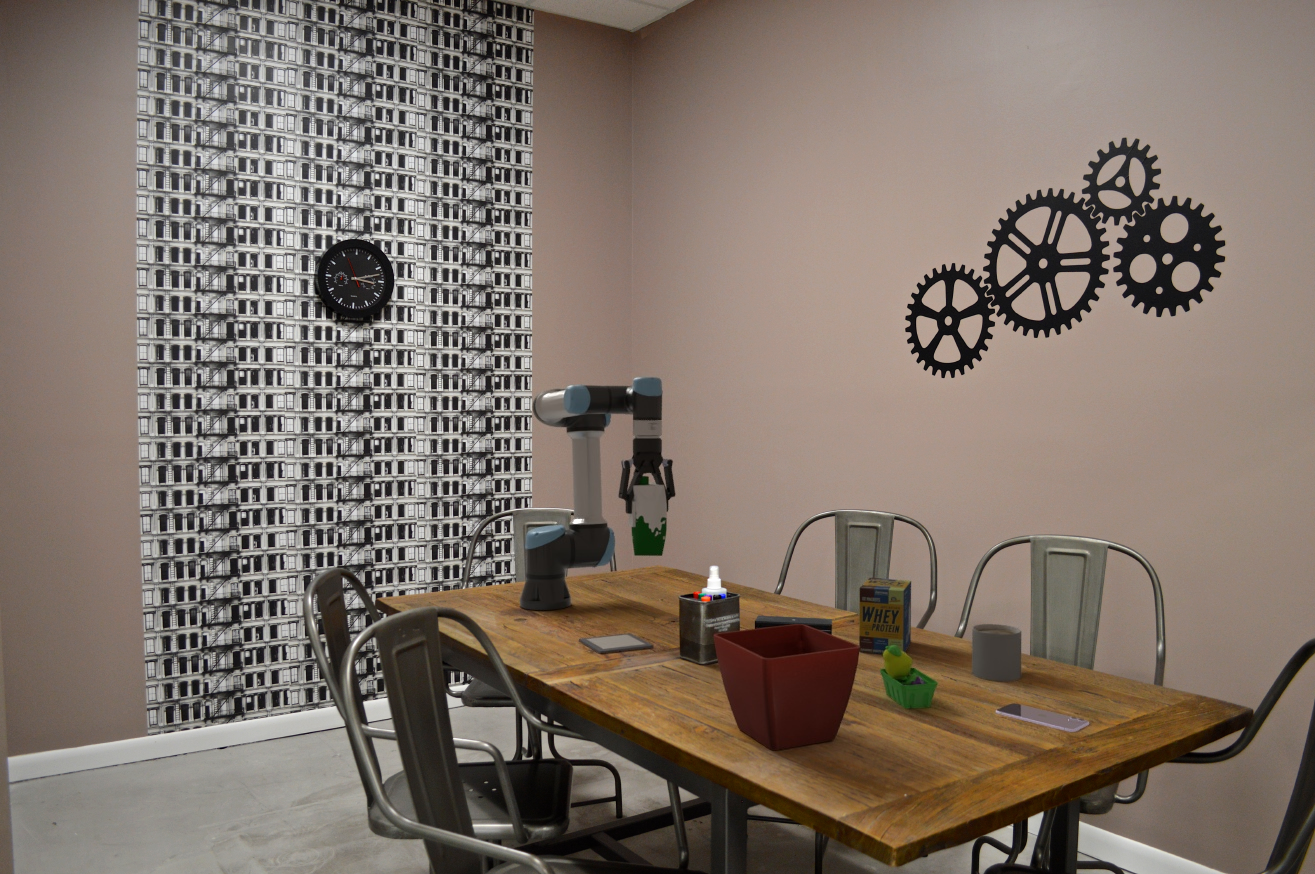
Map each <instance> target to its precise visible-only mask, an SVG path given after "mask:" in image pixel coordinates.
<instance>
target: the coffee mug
mask: <svg viewBox="0 0 1315 874" xmlns="http://www.w3.org/2000/svg"><path fill="white" fill-rule="evenodd" d="M971 630H972V632H971V633H972V635H971V641H972V643H971V649H972V651H971V655H972V656H971V666H972V667H971V674H972V675H973V676H974V677H976V678H979V679H982V680H985V681H992V682H1008V683H1009V682H1016V681H1018V680H1021V678H1022V630H1021V629H1020V628H1019V627H1015V626H1011V625H1007V624H999V623H997V624H995V623H983V624H974V625H973V626H972V629H971Z"/></svg>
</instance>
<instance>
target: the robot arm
mask: <svg viewBox="0 0 1315 874" xmlns="http://www.w3.org/2000/svg"><path fill="white" fill-rule="evenodd" d="M662 383H663V382H662V379H661V378H660V377H657V376H655V377H653V376H651V377H650V376H647V377H646V376H642V377H641V376H640V377H635V378H633V381H632V385H593V384H587V385H586V384H576V385H575V384H573V385H568V386H566V388H553V389H551V388H550V389H546V390H543V391H542V392H540V393H538V394H537V395H536V396H535V397H534V399H533V402H532V407H531V408H532V413H533V415H534V417H535V418H536V419H537V421H539V422H540V423H541V424H544V425H545V426H549V427H552V428H566V435H567V436H568V437H569V438H570V439H571V457H572V459H571V460H572V461H571V462H572V489H573V490H572V491H573V493H572V496H573V497H572V498H573V518H572V520H571V521H570V522H569V523H568V524H569V525H568V527H569V529H566V527H565V525H563V524H562V525H561V524H553V525H545V526H540V527H536V528H532V529H529V531H527V532H526V535H525V544H524V548H525V581H524V584H523V588H522V591H521V595H520V597H519V607H521V609H525V610H531V611H532V610H533V611H552V610H554V611H555V610H562V609H565V608H568V607H570V606H571V605H572V596H571V594H570V590H569V587H568V584H567V581H566V569H567V570H569V569H581V568H583V569H584V568H597V567H604V566H607V565H608V564H609V563H611V561H612V558H613V557H614V554H615V547H616V536H615V532H614V529H613V528H612V527H609V526H608V525H609V524H608V521H607V520H606V519H605V518H604V516H603V498H602V497H603V496H602V494H603V493H602V470H601V469H602V468H601V467H602V463H601V459H602V458H601V437H602V436H603V435H604V434H605V432H606V431H605V429H606V428H608V427H609V426H610V424H611V419H612V415H631V416H632V435H633V436H634V438H633V439H632V457H631V459H622V460H621V462H620V463H621V468H622V469H621V470H622V471H621V476H620V483H619V489H618V494H617V495H618V498H619V499H621V500H624V501H625V502H624V503H625V514H628V527H631V528H632V527H636V502H635V501H632V500H633V498H634V491H633V486H635V485H639V482H640V480H641V477H642V476H644V474H645V475H646V474H651V476H652V477H653V479H654V482H655V484H658V485H664V488H665V494H666V503H667V513H668V512H669V500H671V498H675V497H676V488H675V483H674V482H675V481H674V474H673V463H674V461H673V459H670V458H664V457H663V456H662V452H663V439H662V435H663V429H662V428H663V421H662V420H663V384H662ZM632 465H633V466H634V468H635V469H634V471H633V476H632V477H631V478H632V479H631V481H630V476H631V468H632ZM661 465H662V467H663V473H664V480H665V482H664V480H663V476H662V473H661V469H660V467H661ZM629 483H630V484H629Z"/></svg>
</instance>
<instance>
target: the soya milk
mask: <svg viewBox="0 0 1315 874" xmlns="http://www.w3.org/2000/svg"><path fill="white" fill-rule="evenodd" d="M649 477H650V476H648V475H643V476H642V477H641V480H640V482H639V485H635V486H633V491H634V498H633V500H632V501H635V502H636V527H631V540H632V546H633V554H634V556H636V557H637V556H642V557H644V556H645V557H646V556H647V557H648V556H649V557H651V556H652V557H653V556H654V557H655V556H656V557H661V556H663V554H664V548H665V544H666V543H665V542H666V538H667V529H668V528H667V525H668V524H667V523H668V522H667V518H668V512H667V503H666V494H665V488H664V485H658V484H656V483H654V482H650V478H649Z"/></svg>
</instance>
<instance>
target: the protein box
mask: <svg viewBox="0 0 1315 874" xmlns="http://www.w3.org/2000/svg"><path fill="white" fill-rule="evenodd" d="M858 589H859V591H858V593H859V594H858V598H859V599H858V601H859V603H858V604H859V605H858V607H859V608H858V612H859V613H858V645H859V646H860V652H859V653H867V654H877V655H883V653H884V651H885V650H886V648H885V647H886V646H891V645H896V646H898V647H899V648H900V650H901V651H903V652H905V653H906V651H907V650H908V648H909V646H910V644H911V642H912V637H911V635H912V634H911V633H912V629H911V628H912V581H911V580H904V579H891V578H890V579H889V578H877V577H869V578H868V579H866V581H865V582H864V583H863V584H862V585H861V586H860V587H859V588H858Z"/></svg>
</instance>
